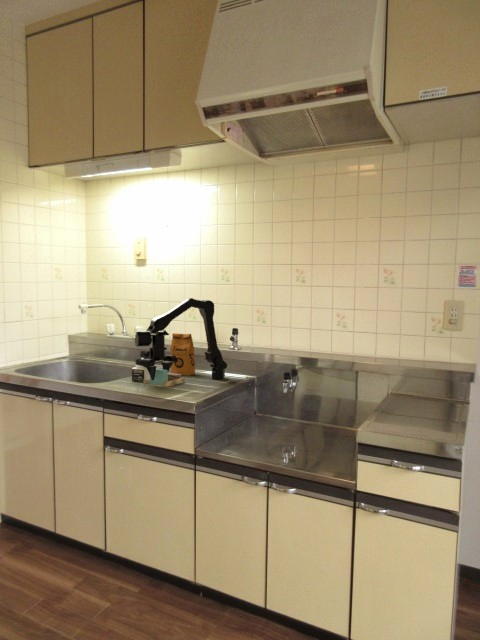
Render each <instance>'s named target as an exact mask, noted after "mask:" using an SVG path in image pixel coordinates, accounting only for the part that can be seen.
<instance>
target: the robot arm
mask: <svg viewBox="0 0 480 640" xmlns="http://www.w3.org/2000/svg"><path fill="white" fill-rule="evenodd" d="M191 308H195V309H198V311H199V314H200V317H201V318H202V319H203V325H204V331H205V337H206V343H207V344H206V345H207V350H206V351H204V355H205V360H206V361H207V363H208V364H209V366H210V367H211V380H214V381H215V380H217V381H218V380H224V379H225V380H228V378H227V377H226V376H225V375H226V372H225V371H226V369H227V368H228V363H227V362H226V361H225V360H224V359H223V356H222V352H221V350H220V348H219V347H218V342H217V334H216V329H215V328H216V327H215V324H214V315H215V303H214V302H213V301H211V300H209V299H206V300H205V299H202V300H200V299H194V298H193V297H187V298H186V299H184V301H182V302H181V303H179V304H178V305H176V306H175V307H173V308H171V309H170V310H169V311H167V312H166V313H163V314H161V315H158V316H155V317H153V318H152V319H150V323H149V326H148V328H146V331H145V330H144V331H140V330H139V331H138V330H137V331H136V332H135V337H134V344H135V346H136V347H138V348H139V347H149V346H151V347H149V350H148V351H146V350H141V351H140V354H139V355H140V356H139V357H141V358H144V359H141V360H140V366H143V367H146V368H147V370H148V372H149V374H150V377H151V380H154V378H155V373H156V368H157V365H156V364H158V363H160V365H162V369H164V370H168V373H170V372H169V371H171V366H172V364H174V362H175V361H177V357H176V356H175V355H170V354H166V353H165V352H166V350H167V348H168V347H167V346H166V345H165V344H166V343H165V339H166V337H165V336H169V335H170V333H168V331H167V330H166V329H167V327H168V326H169V325H170V323H171V322H172V321H174V320H175V319H176V318H178V317H179V316H180V315H182V314H183V313H185V312H186V311H187V310H189V309H191Z"/></svg>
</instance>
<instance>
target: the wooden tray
mask: <svg viewBox="0 0 480 640" xmlns="http://www.w3.org/2000/svg"><path fill="white" fill-rule="evenodd" d="M185 382H186V378H185V377H181V378H180V379H176V380H172V381H168V382H164V383H163V386H161V385H154V384H150V378H149V379H145V380H144V382H143V385H148V386H152V387H153V386H154V387H159V388H168V387H172V386H176V385H178V384H179V385H180V384H184V383H185Z"/></svg>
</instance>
